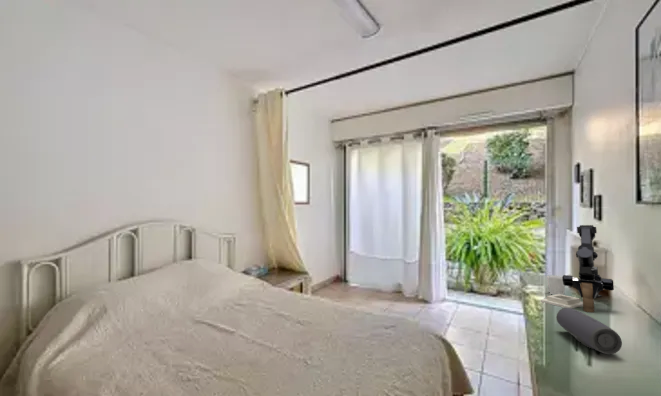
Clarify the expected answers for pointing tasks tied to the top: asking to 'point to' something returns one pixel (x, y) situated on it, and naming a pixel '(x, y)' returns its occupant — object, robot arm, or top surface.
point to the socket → (563, 301)
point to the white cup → (556, 284)
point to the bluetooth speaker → (589, 331)
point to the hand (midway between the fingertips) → (587, 297)
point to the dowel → (587, 297)
